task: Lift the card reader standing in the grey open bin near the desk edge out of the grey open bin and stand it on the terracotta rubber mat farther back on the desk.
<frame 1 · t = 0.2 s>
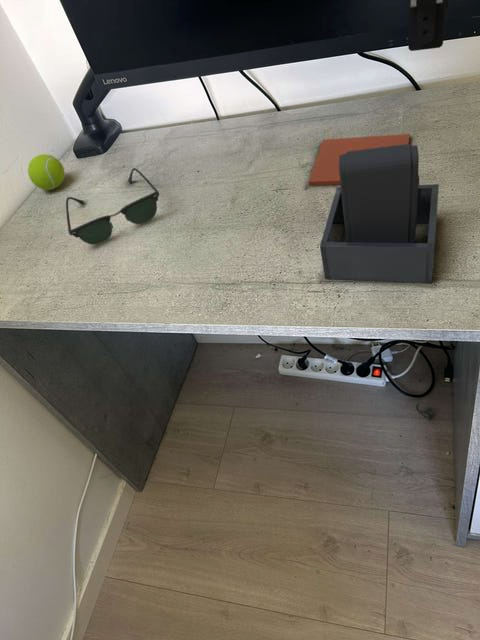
hand: (429, 28, 51), 26 cm above the table, tool pointing down, fingers open, 9 cm apart
mat: (360, 161, 83), on the table
grey open bin: (381, 249, 68), on the table
tennis ball: (55, 187, 104), on the table
card reader: (381, 250, 68), resting in grey open bin
sunglasses: (115, 213, 91), on the table
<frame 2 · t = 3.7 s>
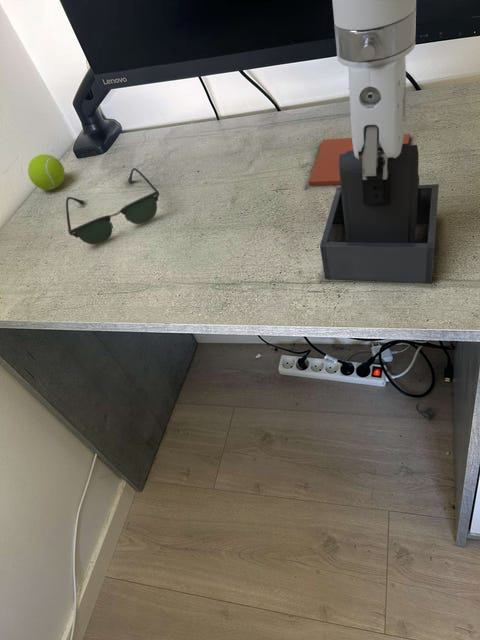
hand: (379, 190, 61), 10 cm above the table, tool pointing down, fingers closed on card reader, 4 cm apart
card reader: (381, 250, 68), resting in grey open bin, touching gripper
everything else where it was.
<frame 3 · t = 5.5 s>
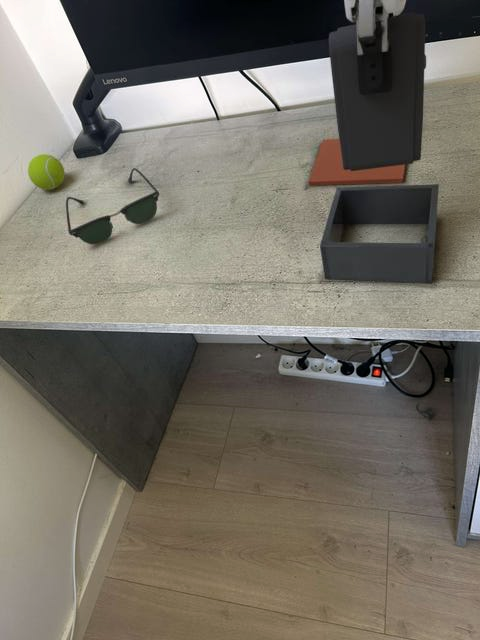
hand: (378, 78, 51), 23 cm above the table, tool pointing down, fingers closed on card reader, 4 cm apart
card reader: (382, 162, 58), point 14 cm above the table, touching gripper
everything else where it was.
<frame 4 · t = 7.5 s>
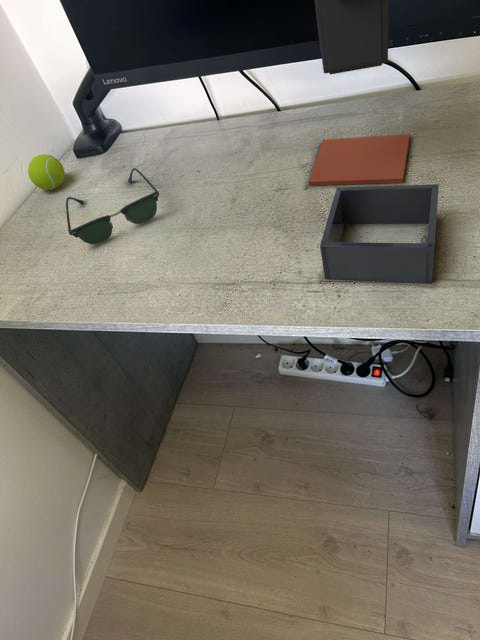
card reader: (356, 67, 69), point 17 cm above the table, touching gripper
everything else where it was.
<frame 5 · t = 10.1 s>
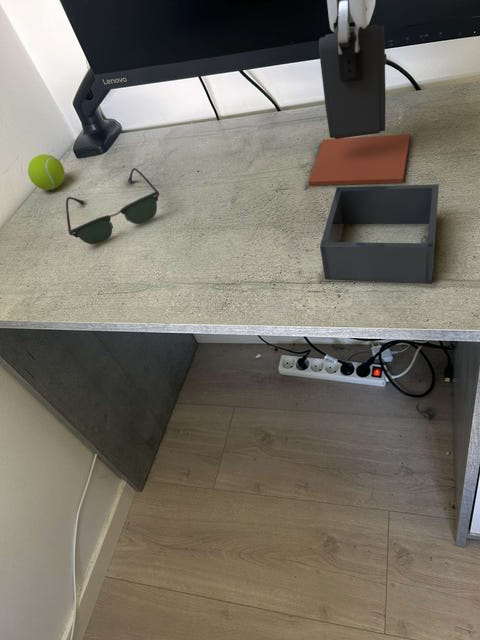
hand: (354, 71, 72), 15 cm above the table, tool pointing down, fingers closed on card reader, 4 cm apart
card reader: (358, 133, 79), point 5 cm above the table, touching gripper
everything else where it was.
when the fingers open (11 cm above the table, at t = 11.6 s): card reader stays where it is, resting on mat.
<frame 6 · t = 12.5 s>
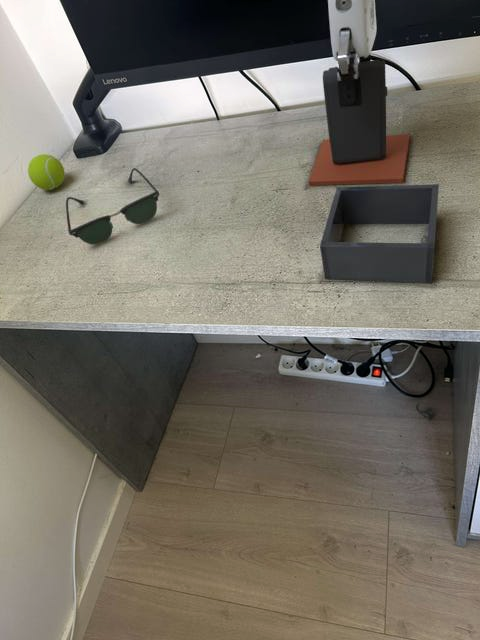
hand: (356, 89, 74), 12 cm above the table, tool pointing down, fingers open, 9 cm apart
card reader: (360, 158, 83), point 1 cm above the table, touching mat
everything else where it was.
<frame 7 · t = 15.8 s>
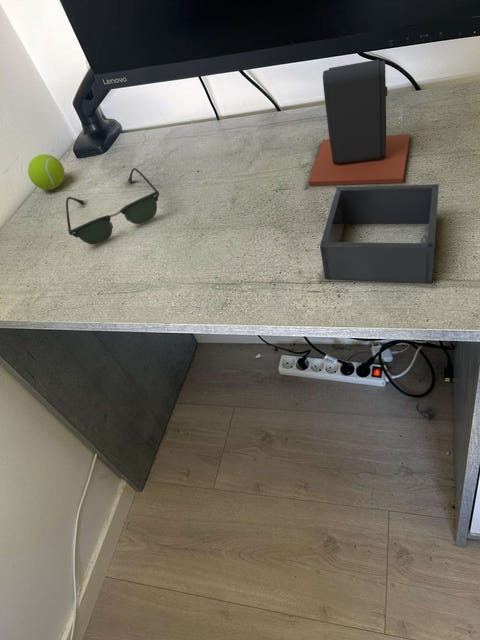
nothing on the table moved.
at the end: card reader inside the target area on the mat (0.1 cm from its centre), point 0.6 cm above the mat's base; card reader tilted 0°; card reader touching mat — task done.
